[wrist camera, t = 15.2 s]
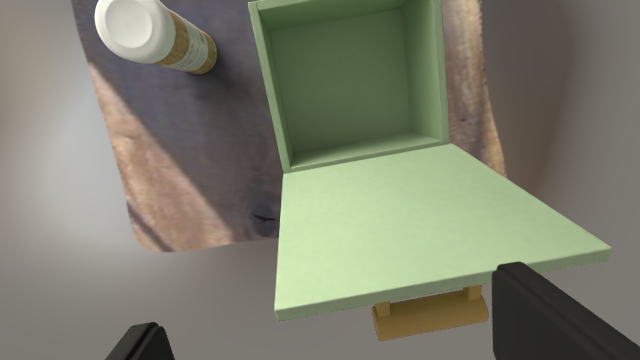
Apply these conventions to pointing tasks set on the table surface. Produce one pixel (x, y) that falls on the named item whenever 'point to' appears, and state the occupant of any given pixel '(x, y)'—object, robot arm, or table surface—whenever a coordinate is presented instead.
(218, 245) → the table surface
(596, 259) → the lid
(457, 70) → the table surface
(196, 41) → the sprinkles bottle
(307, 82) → the bread box
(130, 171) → the table surface
